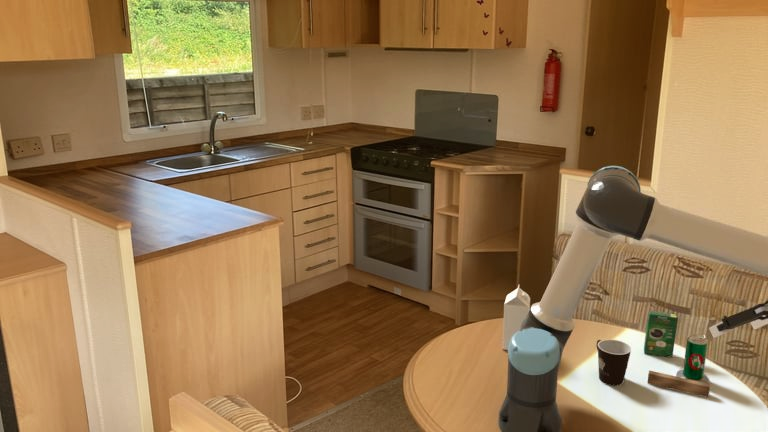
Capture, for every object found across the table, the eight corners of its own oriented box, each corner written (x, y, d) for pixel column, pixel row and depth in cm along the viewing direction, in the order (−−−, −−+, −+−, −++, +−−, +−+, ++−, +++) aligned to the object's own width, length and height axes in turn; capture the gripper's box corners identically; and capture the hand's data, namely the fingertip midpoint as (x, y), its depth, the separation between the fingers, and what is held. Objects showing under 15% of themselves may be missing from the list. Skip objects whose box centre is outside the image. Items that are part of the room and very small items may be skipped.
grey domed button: (674, 382, 175) (675, 379, 174) (677, 369, 181) (678, 366, 181) (707, 389, 171) (707, 387, 171) (709, 376, 177) (709, 373, 177)
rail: (647, 383, 174) (648, 373, 174) (648, 380, 176) (649, 370, 175) (708, 397, 167) (709, 387, 166) (708, 394, 169) (710, 384, 168)
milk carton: (502, 349, 194) (504, 291, 188) (504, 339, 200) (507, 283, 195) (526, 352, 192) (529, 294, 186) (528, 342, 198) (531, 285, 193)
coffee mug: (630, 389, 172) (633, 355, 169) (596, 386, 173) (599, 353, 170) (623, 367, 183) (626, 335, 180) (592, 364, 184) (594, 333, 181)
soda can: (689, 370, 179) (694, 331, 176) (706, 377, 175) (712, 338, 172) (678, 375, 176) (683, 336, 173) (696, 383, 172) (701, 343, 169)
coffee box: (672, 353, 190) (677, 313, 186) (673, 358, 187) (678, 317, 184) (643, 349, 193) (648, 309, 189) (643, 354, 190) (648, 313, 186)
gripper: (768, 320, 138) (701, 350, 156) (847, 304, 146) (775, 334, 164) (750, 288, 141) (688, 322, 159) (829, 274, 150) (761, 307, 167)
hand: (732, 328), depth 162 cm, fingers open, 13 cm apart
